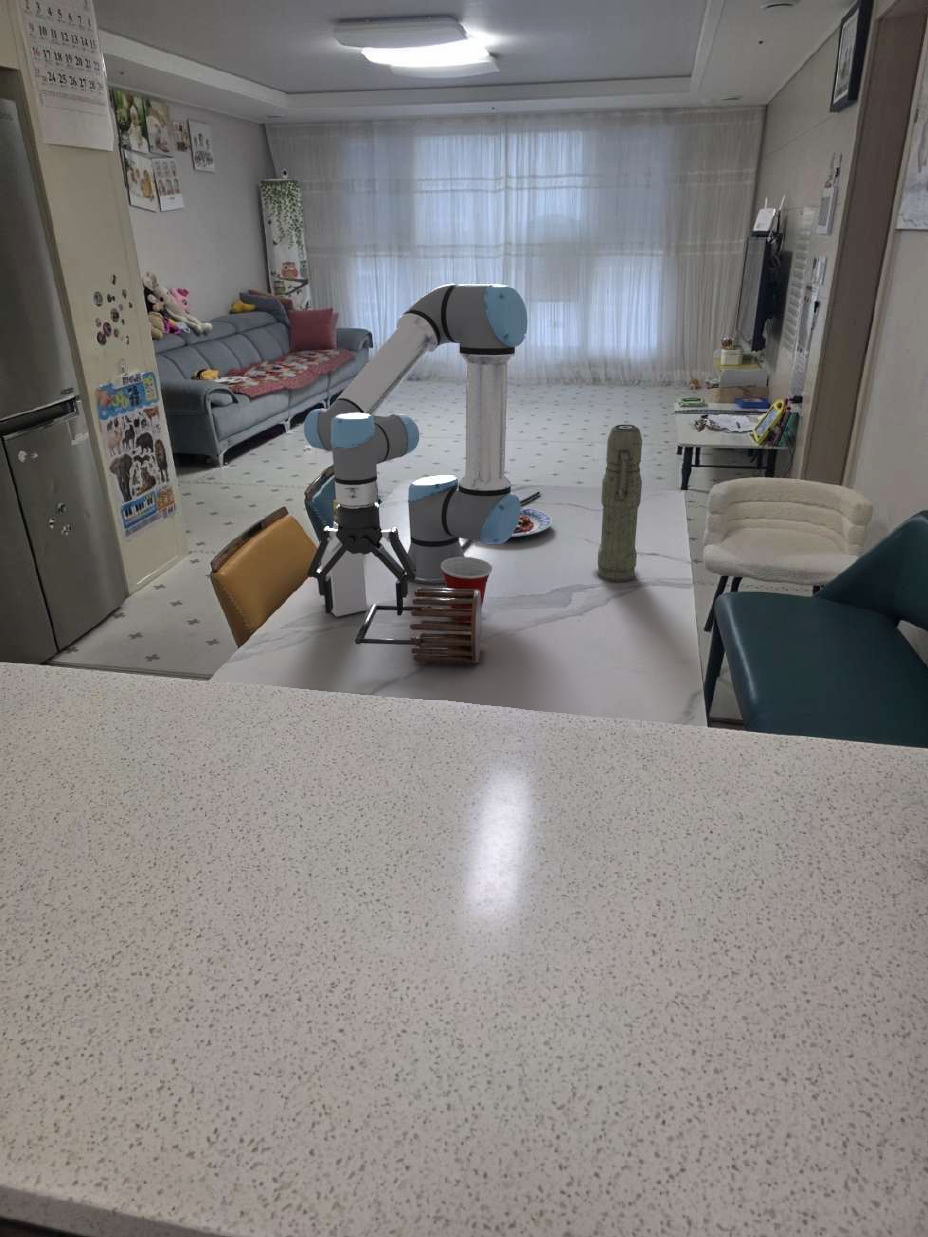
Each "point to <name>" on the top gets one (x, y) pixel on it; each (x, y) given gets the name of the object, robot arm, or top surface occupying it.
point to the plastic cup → (466, 576)
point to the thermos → (620, 504)
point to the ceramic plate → (531, 522)
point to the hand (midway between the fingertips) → (364, 611)
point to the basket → (438, 626)
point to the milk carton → (346, 579)
